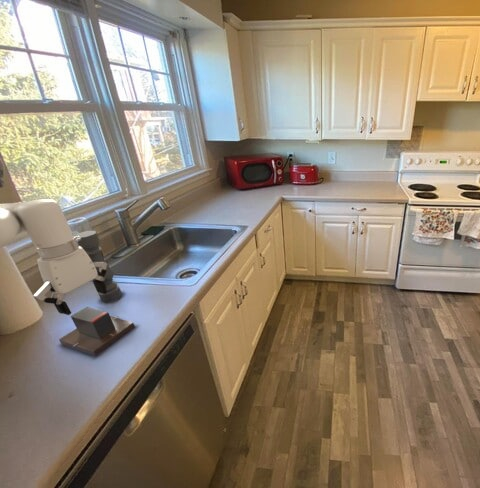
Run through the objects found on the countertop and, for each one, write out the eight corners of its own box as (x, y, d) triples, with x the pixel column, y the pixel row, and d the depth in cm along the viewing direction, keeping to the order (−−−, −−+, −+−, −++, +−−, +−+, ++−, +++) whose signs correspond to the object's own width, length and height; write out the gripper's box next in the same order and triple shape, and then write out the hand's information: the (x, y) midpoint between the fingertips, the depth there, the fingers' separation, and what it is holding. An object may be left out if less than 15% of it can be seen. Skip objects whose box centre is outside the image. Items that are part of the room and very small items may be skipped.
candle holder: (111, 291, 104) (85, 229, 93) (126, 293, 103) (101, 230, 92) (96, 302, 98) (67, 237, 87) (112, 303, 98) (85, 238, 87)
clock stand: (59, 346, 80) (55, 340, 79) (104, 316, 91) (102, 311, 90) (93, 358, 76) (90, 352, 75) (136, 326, 87) (134, 320, 86)
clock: (78, 332, 82) (70, 315, 79) (94, 322, 86) (86, 306, 83) (100, 339, 79) (92, 322, 77) (115, 328, 83) (108, 312, 81)
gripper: (84, 233, 79) (106, 283, 87) (5, 262, 65) (40, 319, 72) (102, 236, 77) (123, 287, 85) (26, 267, 62) (59, 326, 70)
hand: (85, 302), depth 78 cm, fingers open, 9 cm apart
